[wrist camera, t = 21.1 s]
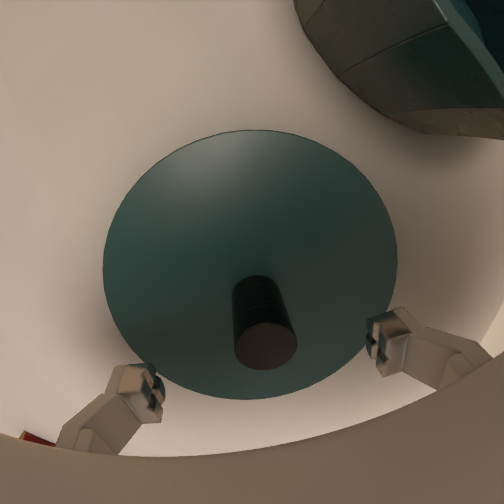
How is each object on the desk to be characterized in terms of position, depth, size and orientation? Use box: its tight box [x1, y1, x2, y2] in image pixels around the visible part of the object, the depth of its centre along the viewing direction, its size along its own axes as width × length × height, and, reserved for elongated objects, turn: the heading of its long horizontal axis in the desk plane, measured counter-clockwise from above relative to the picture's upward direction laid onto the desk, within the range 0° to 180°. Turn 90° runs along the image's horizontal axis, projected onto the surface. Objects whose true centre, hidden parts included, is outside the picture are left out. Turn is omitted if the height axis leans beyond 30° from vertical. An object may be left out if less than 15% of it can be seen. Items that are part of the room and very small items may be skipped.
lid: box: [103, 130, 397, 400], centre depth 13 cm, size 16×16×5 cm
